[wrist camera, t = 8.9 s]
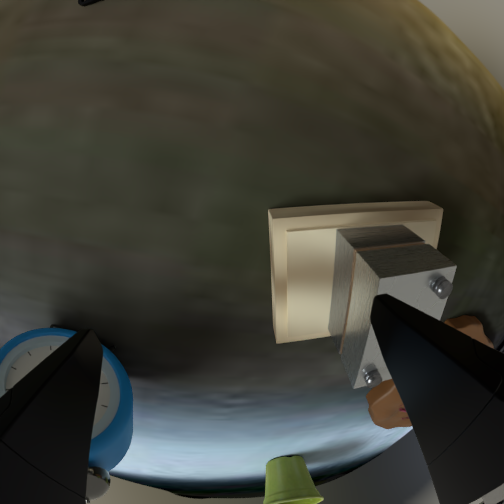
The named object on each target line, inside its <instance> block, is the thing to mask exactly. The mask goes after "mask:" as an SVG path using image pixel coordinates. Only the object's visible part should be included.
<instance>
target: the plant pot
mask: <svg viewBox="0 0 504 504" xmlns="http://www.w3.org/2000/svg"><path fill="white" fill-rule="evenodd" d="M323 499H324V498H323V497H322V496H320V494H319V492H318V490H316V489H315V486H314V484H313V481H312V479H311V477H310V474H309V472H308V469H307V466H306V464H305V461H304V459H303V458H302V457H300V456H292V457H285V456H284V457H279V458H276V459H273V460H271V461H269V462H268V463H267V465H266V489H265V499H264V502H263V504H317V503H319V502H321V501H323Z"/></svg>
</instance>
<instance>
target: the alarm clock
mask: <svg viewBox="0 0 504 504" xmlns="http://www.w3.org/2000/svg"><path fill="white" fill-rule="evenodd" d="M75 333H77V332H76V331H73V330H68V329H62V328H53V325H51V326H50V328H41V329H35V330H31V331H27V332H25V333H22V334H20V335H18V336H16V337H14V338H13V339H11V340H10V341H8V342H7V343H6V344H5V345H4V346H3V347H2V348H1V349H0V397H1V396H3V395H4V394H5V393H6V392H7V391H8V390H9V389H10V388H13V386H14V385H15V384H16V383H17V382H18V381H20V380H21V379H22V378H23V377H24V376H25V375H26V374H28V373H29V372H30V371H31V370H32V369H33V368H35V367H36V366H37V365H38V364H39V363H40V362H42V361H43V360H44V359H45V358H46V357H48V356H49V355H50V354H51V353H52V352H53V351H55V350H56V349H57V348H58V347H60V346H61V345H62V344H63V343H64V342H66V341H67V340H68V339H69V338H70V337H72V336H73V335H74V334H75ZM101 345H102V344H101ZM102 347H103V360H102V369H101V378H100V388H99V395H98V401H97V406H96V412H95V418H94V424H93V431H92V438H91V445H90V454H89V463H88V474H87V487H86V503H90V501H91V500H96V499H98V498H100V497H102V496H103V495H104V494H106V492H107V491H108V490H109V487H110V476H109V473H108V471H110V470H111V469H113V468H114V467H115V466H116V465H117V464H118V463H119V462H120V461H121V460H122V459H123V457H124V456H125V454H126V452H127V450H128V449H129V446H130V443H131V439H132V433H133V393H132V387H131V384H130V380H129V377H128V375H127V373H126V371H125V369H124V367H123V365H122V364H121V362H120V361H119V360H118V359H117V357H116V356H115V355H114V354H113V353H112V352H113V351H114V350H115V347H114V346H112V347H110V348H106V347H105V346H104V345H102Z"/></svg>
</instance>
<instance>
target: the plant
mask: <svg viewBox="0 0 504 504" xmlns="http://www.w3.org/2000/svg"><path fill="white" fill-rule="evenodd" d="M444 323H445V324H447V325H449V326H451V327H453V328H455V329H457V330H459V331H461V332H462V333H464V334H466V335H468V336H470V337H472V339H473V338H474V339H476V340H478V341H479V342H481V343H483V344H485V345H487V346H489V347H491V348H494V346H493V344H492V342H491V341H490V340H489V339H488V337H487V336H486V335H485V334H484V332H483V325H482V323H481V322H480V321H479V320H478V319H477V318H476V317H475V316H468V315H462V316H460V317H457V318H453V319H447V320H446V321H445V322H444ZM366 398H367V400H368V403H369V409H368V411H369V414H370V416H371V418H372V421H373V422H374V424H376V425H377V426H380V427H383V428H385V429H391V428H395V427H410V426H412V424H411V422H410V419H409V417H408V414H407V412H406V409H405V407H404V405H403V402H402V400H401V398H400V395H399V393H398V391H397V389H396V386H395V384H394V382H393V380H392V379H389V380H385V381H382V382H381V383H380V384H379V385H377V386H376V387H373V388H372V390H371V391H370V392H369V393H368V394H367V395H366Z"/></svg>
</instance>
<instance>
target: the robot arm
mask: <svg viewBox="0 0 504 504" xmlns="http://www.w3.org/2000/svg"><path fill="white" fill-rule="evenodd" d="M98 1H101V0H86V1H84V0H78V3H79V4H80V5H81V6H87V5H90V4H92V3H95V2H98ZM102 1H103V0H102ZM370 321H371V325H372V327H373V330H374V333H375V336H376V339H377V342H378V345H379V348H380V351H381V354H382V356H383V359H384V362H385V364H386V366H387V369H388V371H389V373H390V375H391V377H392V380H393V382H394V384H395V386H396V389H397V391H398V393H399V395H400V398H401V400H402V402H403V405H404V407H405V409H406V412H407V414H408V417H409V419H410V422H411V424H412V426H413V429H414V431H415V434H416V437H417V439H418V442H419V444H420V447H421V450H422V452H423V455H424V458H425V460H426V463H427V465H428V469H429V472H430V475H431V478H432V481H433V484H434V487H435V490H436V493H437V496H438V499H439V503H440V504H469V503H471V502H473V501H475V500H477V499H479V498H480V497H482V499H483V502H481V503H480V504H504V353H502V352H499V351H497V350H495V349H493V348H491V347H489V346H487V345H485V344H483V343H481V342H479V341H478V340H476V339H474V338H473V339H472V337H470V336H468V335H466V334H464V333H462V332H461V331H459V330H457V329H455V328H453V327H451V326H449V325H447V324H445V323H443V322H442V321H440V320H438V319H436V318H434V317H432V316H430V315H428V314H426V313H424V312H422V311H420V310H418V309H416V308H414V307H413V306H411V305H409V304H407V303H405V302H403V301H401V300H399V299H397V298H395V297H393V296H391V295H389V294H386V293H384V294H379V295H376V296H375V297H374V298H373V303H372V308H371V314H370ZM102 360H103V347H102V345H101V343H100V341H99V339H98V338H97V336H96V334H95V332H94V331H93V330H92V329H80V330H79V331H78V332H77V333H75V334H74V335H73V336H72V337H70V338H69V339H68V340H67V341H66V342H64V343H63V344H62V345H61V346H60V347H58V348H57V349H56V350H55V351H53V352H52V353H51V354H50V355H49V356H48V357H46V358H45V359H44V360H43V361H42V362H40V363H39V364H38V365H37V366H36V367H35V368H33V369H32V370H31V371H30V372H29V373H28V374H26V375H25V376H24V377H23V378H22V379H21V380H20V381H18V382H17V383H16V384H15V385H14V386H13V388H10V389H9V390H8V391H7V392H6V393H5V394H4V395H3V396H1V397H0V504H86V487H87V474H88V463H89V454H90V445H91V438H92V431H93V424H94V418H95V412H96V406H97V401H98V395H99V388H100V378H101V369H102Z"/></svg>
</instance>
